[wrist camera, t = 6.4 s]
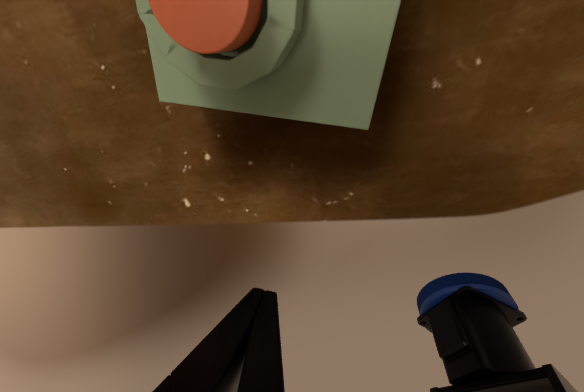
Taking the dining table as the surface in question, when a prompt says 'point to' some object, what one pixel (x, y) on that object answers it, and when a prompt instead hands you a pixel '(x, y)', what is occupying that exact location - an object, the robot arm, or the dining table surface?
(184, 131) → the dining table surface
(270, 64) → the push button box
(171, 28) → the lid button
